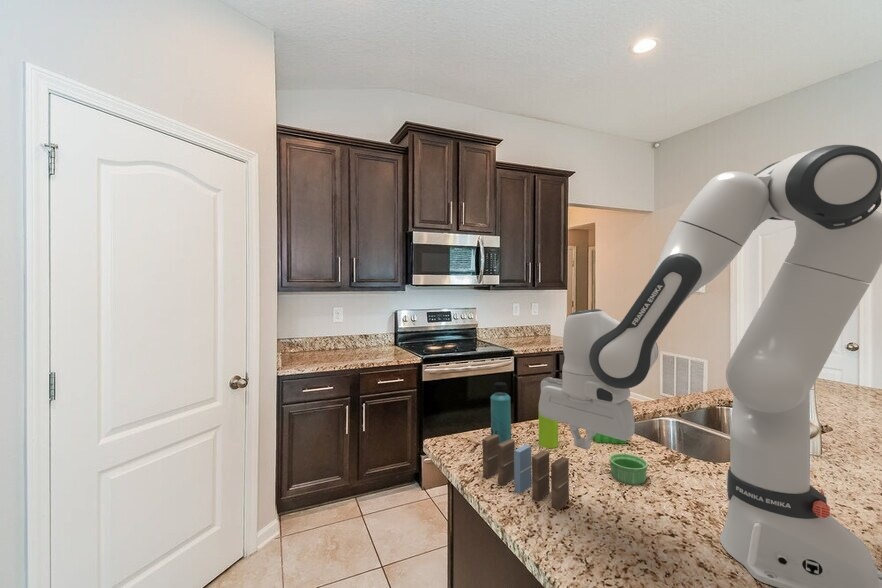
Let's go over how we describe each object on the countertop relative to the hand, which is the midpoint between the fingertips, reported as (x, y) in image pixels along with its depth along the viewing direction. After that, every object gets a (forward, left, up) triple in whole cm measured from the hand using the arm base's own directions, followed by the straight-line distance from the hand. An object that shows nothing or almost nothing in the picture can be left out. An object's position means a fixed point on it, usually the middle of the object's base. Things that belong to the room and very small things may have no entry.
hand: (582, 447), depth 83 cm
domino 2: (+20, 0, -15) cm, 25 cm away
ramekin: (-1, -24, -15) cm, 28 cm away
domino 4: (+10, 0, -15) cm, 18 cm away
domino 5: (+5, 0, -15) cm, 16 cm away
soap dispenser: (+24, -28, -15) cm, 40 cm away
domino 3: (+15, 0, -15) cm, 21 cm away
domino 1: (+25, 0, -15) cm, 29 cm away
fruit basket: (+13, -45, -15) cm, 49 cm away
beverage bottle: (+34, -16, -15) cm, 41 cm away
